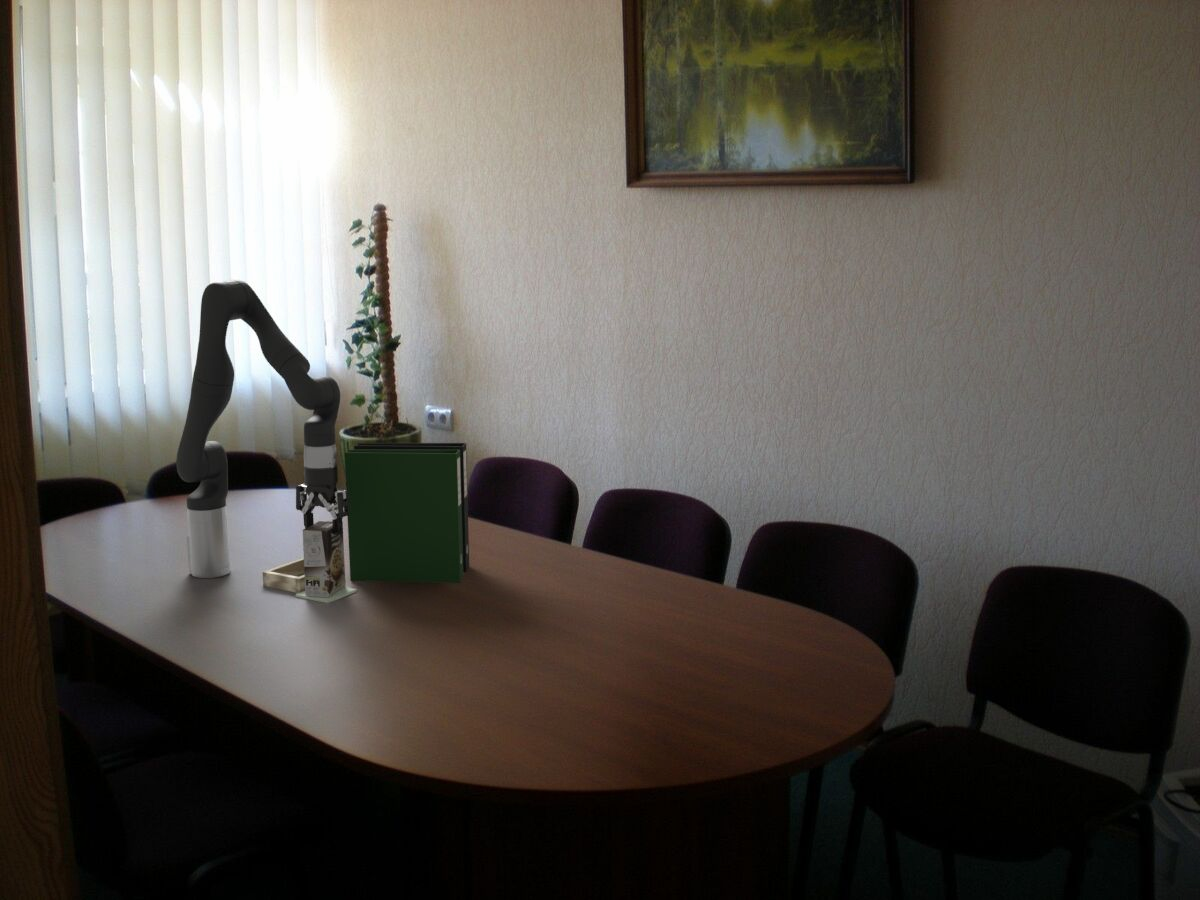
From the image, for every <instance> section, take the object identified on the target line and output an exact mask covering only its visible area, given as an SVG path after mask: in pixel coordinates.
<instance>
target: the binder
mask: <svg viewBox="0 0 1200 900" xmlns="http://www.w3.org/2000/svg"><path fill="white" fill-rule="evenodd" d="M467 462H468V461H467V443H466V442H357V445H354V447H353V449H348V451H346V452H344V467H345V468H344V470H345V471H344V472H345V486H346V487H345V488H346V489H345V490H346V491H347V492H348V500H349V512H350V514H349V515H348V516H347V534H348V554H349V555H348V556H349V577H350V578H349V579H350V581H352V582H385V583H387V582H391V583H392V582H393V583H396V582H397V583H434V584H435V583H436V584H437V583H443V584H447V583H448V584H460V583H461V582H462V580H463V579H464V573H467V572H466V571H468V569H469V568H470V540H469V538H470V537H469V536H470V534H469V504H468V503H469V499H468V495H469V494H468V468H467V467H468V463H467Z"/></svg>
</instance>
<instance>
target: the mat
mask: <svg viewBox="0 0 1200 900" xmlns="http://www.w3.org/2000/svg"><path fill="white" fill-rule="evenodd" d="M357 592H358V589H357V588H353V587H349V586H348V587H347V586H345V587H344V588H343V589H341V590H340V591H338V592H337V593H335V594H334V595H332V596H331V597H329V598H325V597H314V596H306V595H305V591H303V592H300V593H296V594H295V598H300V599H305V600H310V601H315V602H320V603H326V604H329V603H333V602H334V601H337V600H340V599H342V598H344V597H347V596H349V595H352V594H354V593H357Z"/></svg>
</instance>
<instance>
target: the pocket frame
mask: <svg viewBox="0 0 1200 900" xmlns="http://www.w3.org/2000/svg"><path fill="white" fill-rule="evenodd" d="M261 574H262V585H263V587H265V588H266V587H267V588H271V589H277V590H282V591H286V592H287V591H288V592H292V593H296V594H298V593H300V592H303V591H305V572H304V557H302V558H299V559H295V560H293V561H290V562H287V563H284V564H281V565H279V566H276V567H273V568H271V569H270V568H269V569H267V570H265V571H262V572H261Z"/></svg>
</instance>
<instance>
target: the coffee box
mask: <svg viewBox="0 0 1200 900" xmlns="http://www.w3.org/2000/svg"><path fill="white" fill-rule="evenodd" d="M342 527H343V528H344V522H343V521H342ZM302 546H303V548H302V549H303V558H304V572H305V573H304V575H305V595H306V596H314V597H325V598H329V597H331V596H332V595H334V594H335V593H337V592H338V591H340V590H341V589H343V588H344V587H347V586H346V569H345V568H346V562H345V549H344V548H345V546H344V529H343V530H342V531H341V533H340V534H337V535H335V534H333V523H332V520H331V521H330V520H329V521H326V520H325V521H321V520H320V521H316V522H314V524H313V525H311V526H309V527H307V528H305V527H304V528H303V529H302Z"/></svg>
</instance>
